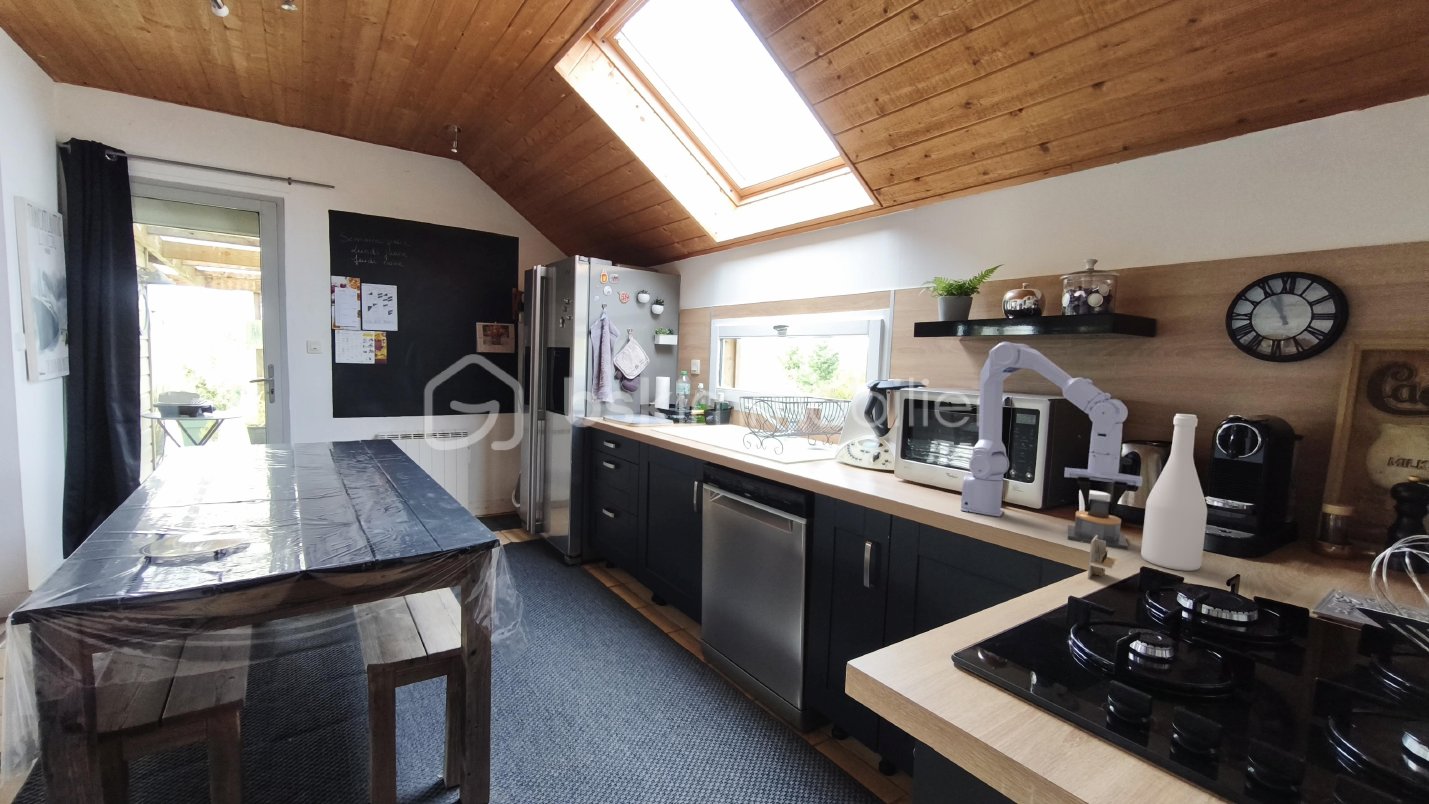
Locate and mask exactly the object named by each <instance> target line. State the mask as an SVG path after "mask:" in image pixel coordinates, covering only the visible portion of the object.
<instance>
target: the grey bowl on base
mask: <svg viewBox="0 0 1429 804" xmlns="http://www.w3.org/2000/svg"><path fill="white" fill-rule="evenodd" d="M1074 521H1075V522H1074V525H1069V524H1067V540H1070V541H1075V540H1076V542H1081V541H1083V542H1082V543H1086V542H1087V544H1091V541H1092V540H1093V538H1094V537H1095V536H1096V535H1098V536H1097V539H1098V540H1103V541H1106V547H1110V548H1117V549H1122V550H1127V551H1128V549H1129V544H1128V542H1127V540H1126V537H1125V535H1124V533H1121V526H1122V525H1121V524H1120V525H1105V524H1098V523H1093V522H1089V521H1085V520H1082V519H1079V518H1077V517H1076V516H1075V520H1074Z"/></svg>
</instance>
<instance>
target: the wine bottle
mask: <svg viewBox="0 0 1429 804" xmlns="http://www.w3.org/2000/svg"><path fill="white" fill-rule="evenodd" d="M1198 420H1199V419H1198V418H1197V415H1196V414H1188V413H1187V414H1186V413H1176V414H1175V415H1174V417H1173V425H1174V429H1173V434H1172V435H1173V436H1172V441H1171V442H1172V444H1171V449H1170V455H1169V457H1168V459H1167V462H1166V463H1165V465H1164V467H1163V469H1162V471H1161V473H1160V475H1159V476H1158V479H1157V480H1156V482H1155V483H1154V485H1153V487H1152V489H1151V491H1150V493H1149V495H1148V497H1147V499H1146V502H1145V511H1144V513H1145V514H1144V521H1143V522H1144V523H1143V530H1142V540H1141V549H1140V550H1141V551H1140V554H1141V557H1142V559H1144V560H1145V561H1146V562H1148V563H1150V564H1153V565H1156V566H1159V567H1161V568H1167V569H1171V570H1177V571H1183V572H1184V571H1186V572H1187V571H1188V572H1189V571H1191V572H1192V571H1197V570H1199V568H1200V567H1201V565H1202V562H1203V561H1202V560H1203V553H1204V551H1203V550H1204V543H1205V537H1206V536H1205V535H1206V527H1207V516H1208V507H1207V503H1206V500H1205V495H1204V493H1203V489H1202V486H1201V482H1200V478H1199V476H1198V472H1197V469H1196V465H1195V459H1194V450H1195V449H1194V448H1195V437H1196V436H1195V435H1196V433H1195V432H1196V427H1198Z"/></svg>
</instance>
